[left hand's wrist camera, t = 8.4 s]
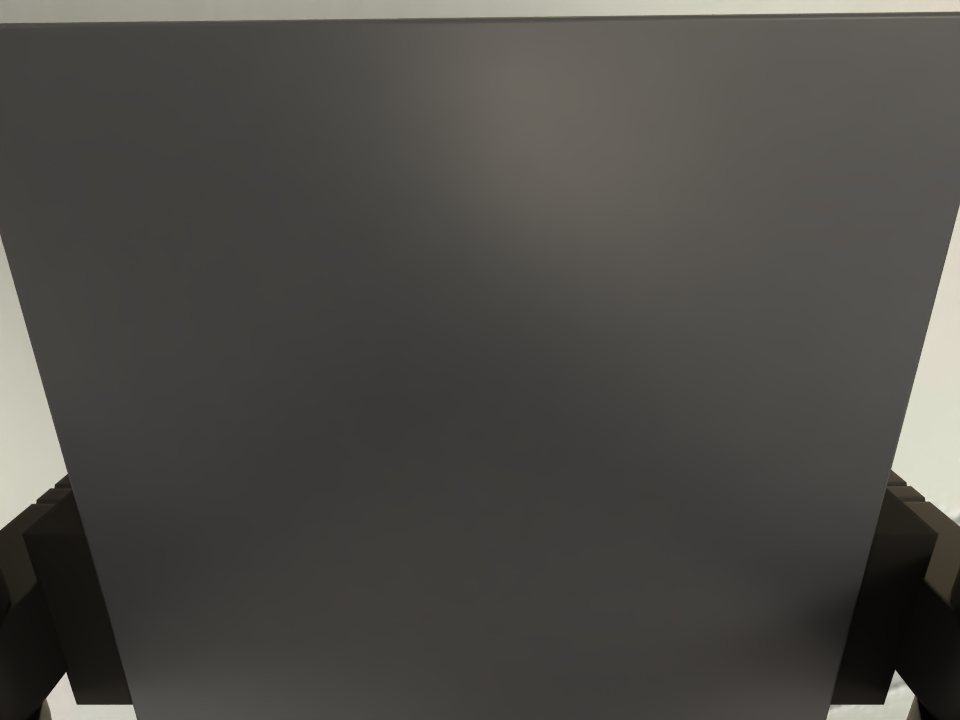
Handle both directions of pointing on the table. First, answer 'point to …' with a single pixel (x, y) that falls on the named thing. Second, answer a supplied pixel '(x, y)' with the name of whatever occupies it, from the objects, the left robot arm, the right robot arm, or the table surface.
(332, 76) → the long grey beam
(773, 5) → the table surface
